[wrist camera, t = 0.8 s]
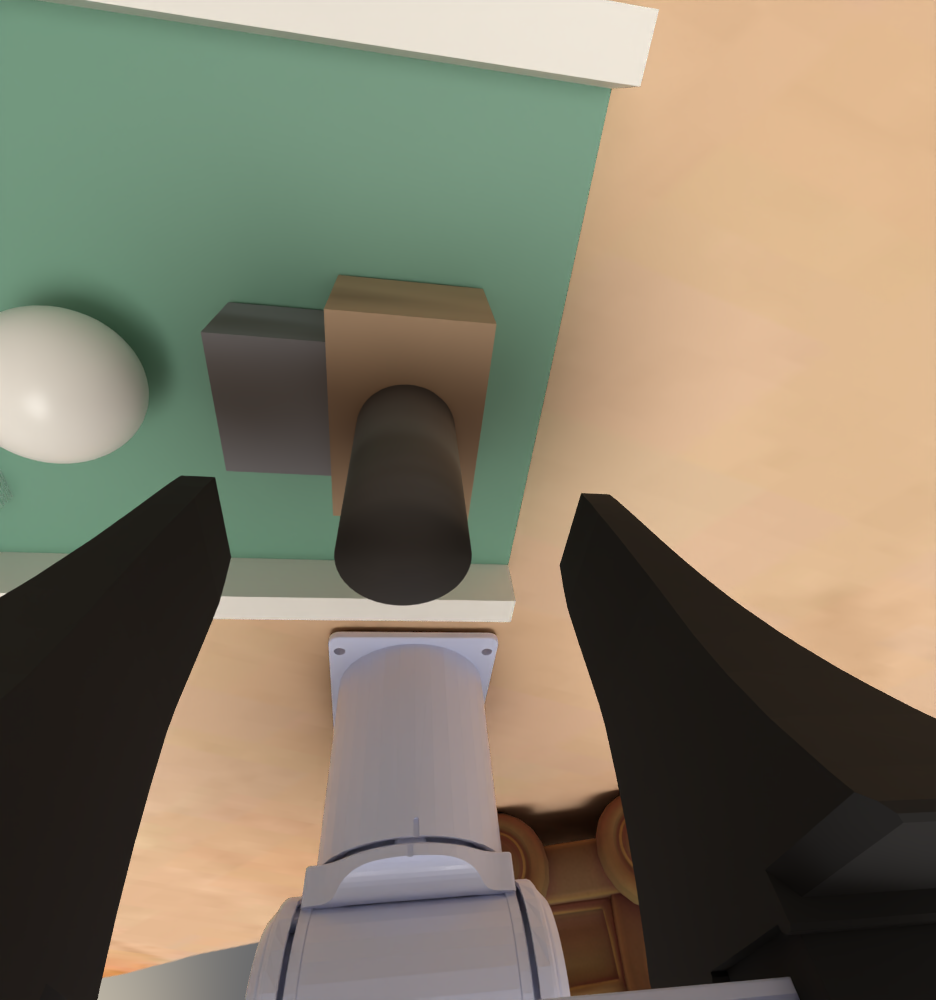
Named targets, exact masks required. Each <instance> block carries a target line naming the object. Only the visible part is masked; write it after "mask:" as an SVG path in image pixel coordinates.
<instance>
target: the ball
mask: <svg viewBox="0 0 936 1000" xmlns="http://www.w3.org/2000/svg"><path fill="white" fill-rule="evenodd" d="M148 401H149V387H148V382H147V378H146V374H145V371H144V368H143V366H142V364H141V362H140V360H139V359H138V357H137V355H136V354H135V352H134V351H133V350H132V348H131V347H130V346H129V345H128V344H127V343H126V342H125V341H124V339H123V338H121V337H120V336H119V335H118V334H117V333H116V332H115V331H113V330H112V329H110V328H109V327H108V326H106V325H105V324H103V323H101V322H100V321H98V320H96V319H94V318H92V317H90V316H88V315H85V314H82V313H79V312H77V311H73V310H69V309H65V308H61V307H54V306H40V305H32V306H23V307H16V308H12V309H8V310H5V311H2V312H0V447H2V448H4V449H6V450H7V451H10V452H12V453H14V454H16V455H19V456H22V457H25V458H28V459H32V460H36V461H41V462H46V463H57V464H71V463H80V462H86V461H90V460H94V459H97V458H100V457H102V456H105V455H108V454H110V453H111V452H113V451H115V450H117V449H118V448H120V447H121V446H123V445H124V444H125V443H126V442H127V441H128V440H130V439H131V438H132V437H133V435H134V434H135V433H136V432H137V430H138V429H139V427H140V426H141V424H142V422H143V420H144V417H145V414H146V411H147V408H148Z"/></svg>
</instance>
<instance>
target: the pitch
mask: <svg viewBox="0 0 936 1000" xmlns="http://www.w3.org/2000/svg"><path fill="white" fill-rule="evenodd" d="M658 11H659V9H654V8H648V7H642V6H637V5H631V4H626V3H620V2H614V1H609V0H0V312H2V311H5V310H8V309H12V308H16V307H23V306H32V305H40V306H54V307H61V308H65V309H69V310H73V311H77V312H79V313H82V314H85V315H88V316H90V317H92V318H94V319H96V320H98V321H100V322H101V323H103V324H105V325H106V326H108V327H109V328H110V329H112V330H113V331H115V332H116V333H117V334H118V335H119V336H120V337H121V338H123V339H124V341H125V342H126V343H127V344H128V345H129V346H130V347H131V348H132V350H133V351H134V352H135V354H136V355H137V357H138V359H139V360H140V362H141V364H142V366H143V368H144V371H145V374H146V378H147V382H148V387H149V401H148V408H147V411H146V414H145V417H144V420H143V422H142V424H141V426H140V427H139V429H138V430H137V432H136V433H135V434H134V435H133V437H132V438H131V439H130V440H128V441H127V442H126V443H125V444H124V445H123V446H121V447H120V448H118V449H117V450H115V451H113V452H111V453H110V454H108V455H105V456H102V457H100V458H97V459H94V460H90V461H86V462H80V463H71V464H57V463H46V462H41V461H36V460H32V459H28V458H25V457H22V456H19V455H16V454H14V453H12V452H10V451H7V450H6V449H4V448H2V447H0V469H1V471H2V473H3V475H4V477H5V479H6V482H7V484H8V486H9V488H10V490H11V492H12V494H13V497H12V498H11V499H10V500H9V501H8V502H7V503H6V504H5V505H4V506H3V507H2V508H1V509H0V597H1V596H3V595H4V594H6V593H8V592H10V591H11V590H13V589H15V588H16V587H18V586H20V585H21V584H23V583H25V582H26V581H28V580H30V579H31V578H33V577H35V576H36V575H38V574H39V573H41V572H42V571H44V570H45V569H47V568H48V567H50V566H51V565H53V564H55V563H56V562H58V561H59V560H61V559H62V558H64V557H65V556H67V555H68V554H70V553H71V552H73V551H74V550H76V549H78V548H79V547H81V546H82V545H84V544H85V543H87V542H88V541H90V540H91V539H93V538H94V537H95V536H97V535H98V534H100V533H101V532H102V531H104V530H105V529H107V528H108V527H109V526H111V525H112V524H114V523H115V522H116V521H118V520H119V519H121V518H122V517H123V516H125V515H126V514H128V513H129V512H130V511H132V510H133V509H134V508H136V507H137V506H139V505H140V504H141V503H143V502H144V501H145V500H147V499H148V498H149V497H151V496H152V495H154V494H155V493H156V492H158V491H159V490H160V489H162V488H163V487H165V486H166V485H167V484H169V483H170V482H172V481H173V480H175V479H176V478H178V477H179V476H181V475H183V476H205V477H215V479H216V484H217V489H218V494H219V499H220V504H221V509H222V514H223V518H224V523H225V528H226V533H227V538H228V543H229V548H230V553H231V560H230V564H229V568H228V572H227V577H226V581H225V584H224V588H223V592H222V595H221V599H220V602H219V605H218V608H217V610H216V613H215V615H214V618H213V619H265V620H361V621H458V622H511V618H512V614H513V610H514V606H515V602H516V600H515V596H514V591H513V586H512V581H511V576H510V572H509V567H508V563H509V558H510V554H511V549H512V544H513V540H514V535H515V531H516V526H517V521H518V517H519V512H520V508H521V503H522V498H523V494H524V489H525V485H526V480H527V475H528V471H529V466H530V462H531V457H532V452H533V448H534V443H535V439H536V434H537V429H538V425H539V420H540V416H541V411H542V406H543V402H544V397H545V393H546V388H547V383H548V379H549V374H550V369H551V365H552V360H553V356H554V351H555V346H556V342H557V337H558V333H559V328H560V323H561V319H562V314H563V310H564V305H565V300H566V296H567V291H568V287H569V282H570V277H571V273H572V268H573V264H574V259H575V254H576V250H577V245H578V241H579V236H580V231H581V227H582V222H583V218H584V213H585V208H586V204H587V199H588V195H589V190H590V185H591V181H592V176H593V172H594V167H595V162H596V158H597V153H598V149H599V144H600V139H601V135H602V130H603V126H604V121H605V116H606V112H607V107H608V103H609V98H610V93H611V89H614V88H628V87H640V86H641V81H642V77H643V73H644V69H645V65H646V61H647V57H648V53H649V48H650V44H651V40H652V36H653V32H654V28H655V24H656V20H657V15H658ZM338 275H345V276H355V277H366V278H376V279H386V280H397V281H407V282H417V283H428V284H438V285H448V286H459V287H469V288H479V289H483V290H484V293H485V295H486V298H487V301H488V303H489V306H490V308H491V311H492V314H493V316H494V319H495V321H496V324H497V325H496V331H495V338H494V345H493V352H492V359H491V366H490V372H489V379H488V386H487V393H486V400H485V407H484V413H483V420H482V427H481V434H480V441H479V448H478V454H477V461H476V468H475V475H474V482H473V489H472V495H471V502H470V509H469V516H468V528H469V535H470V542H471V551H472V560H471V565H470V568H469V570H468V573H467V574H466V576H465V578H464V579H463V580H462V581H461V583H460V584H459V585H458V586H457V587H456V588H454V589H453V590H452V591H450V592H449V593H448V594H446V595H444V596H442V597H440V598H438V599H436V600H433V601H430V602H427V603H422V604H418V605H408V606H398V605H388V604H383V603H379V602H375V601H372V600H370V599H367V598H365V597H363V596H361V595H360V594H358V593H356V592H355V591H354V590H352V589H351V588H350V587H349V586H348V585H347V584H346V583H345V582H344V581H343V579H342V578H341V577H340V575H339V573H338V571H337V568H336V565H335V560H334V550H335V544H336V538H337V533H338V527H339V521H340V516H333V503H332V481H331V476H322V475H300V474H279V473H257V472H235V471H226V467H225V462H224V456H223V451H222V446H221V440H220V435H219V429H218V424H217V419H216V413H215V408H214V402H213V397H212V391H211V386H210V381H209V375H208V370H207V364H206V359H205V353H204V348H203V343H202V337H201V331H202V330H203V329H204V328H205V327H206V326H207V325H208V324H209V322H210V321H211V320H212V319H213V318H214V317H215V316H216V315H217V314H218V313H219V312H220V311H221V309H222V308H223V307H224V306H225V305H226V304H227V303H228V302H232V303H243V304H255V305H266V306H278V307H289V308H301V309H312V310H323V311H324V307H325V305H326V303H327V300H328V298H329V296H330V293H331V291H332V289H333V286H334V284H335V282H336V279H337V277H338Z"/></svg>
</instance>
